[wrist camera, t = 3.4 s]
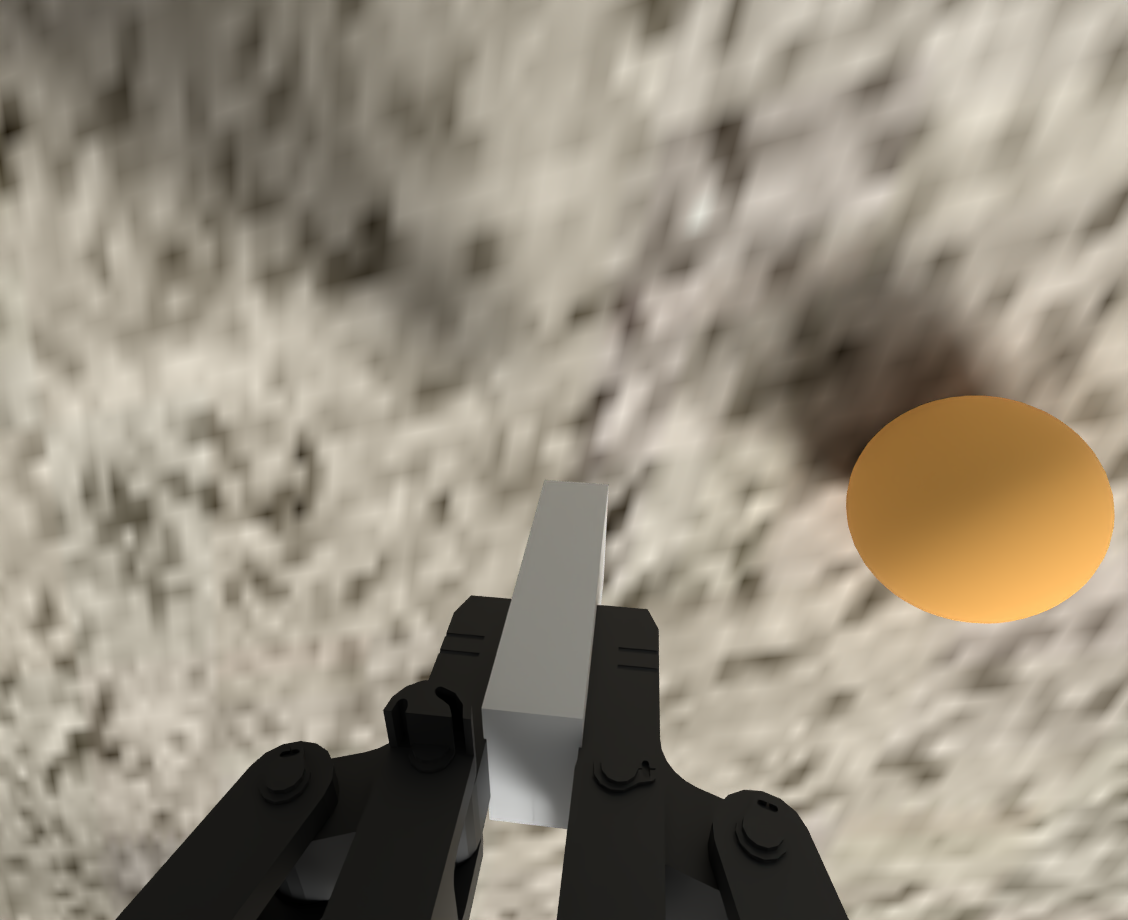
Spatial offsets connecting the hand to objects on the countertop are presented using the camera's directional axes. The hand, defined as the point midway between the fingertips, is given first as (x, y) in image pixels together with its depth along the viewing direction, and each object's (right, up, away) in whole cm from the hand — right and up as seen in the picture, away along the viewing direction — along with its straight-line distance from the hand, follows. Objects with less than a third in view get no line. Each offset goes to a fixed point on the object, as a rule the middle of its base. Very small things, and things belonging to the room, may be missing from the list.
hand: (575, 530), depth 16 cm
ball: (+10, 0, 0) cm, 10 cm away
